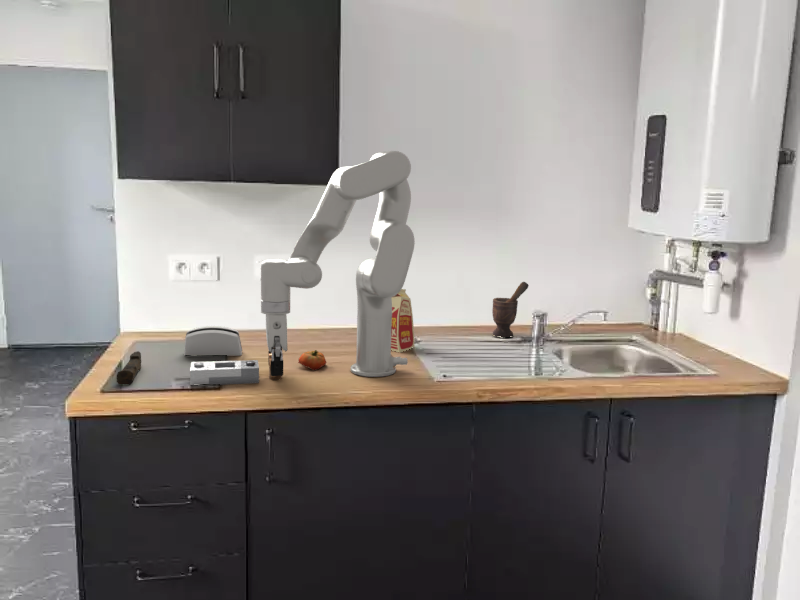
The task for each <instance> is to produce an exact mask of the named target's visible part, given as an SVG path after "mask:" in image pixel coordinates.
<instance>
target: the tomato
mask: <svg viewBox="0 0 800 600" xmlns="http://www.w3.org/2000/svg"><path fill="white" fill-rule="evenodd" d="M327 363H328V362H327V360H326V357H325V355H324V353H322V352H320V351H318V350H317V349H313V350H311V351H305V352H303V353H302V354H301V355H300V357H299V358H298V362H297V364H300V365H301V366H303V367H305V368H309V369H310V370H312V371H316V370H319V369H321V368H322V367H324V366H326V364H327Z"/></svg>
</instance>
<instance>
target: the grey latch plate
mask: <svg viewBox="0 0 800 600" xmlns="http://www.w3.org/2000/svg"><path fill="white" fill-rule="evenodd" d="M189 376H190V377H189V378H190V379H189V380H190V381H189V383H190V384H189V385H194V384H220V385H219V386H221V385H222V386H223V385H241V384H245V385H247V384H259V383H260V366H259V360H258V359H251V360H249V359H248V360H247V359H246V360H221V361H220V360H219V361H217V360H216V361H191V363H190V368H189Z"/></svg>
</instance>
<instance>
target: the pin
mask: <svg viewBox="0 0 800 600" xmlns="http://www.w3.org/2000/svg"><path fill="white" fill-rule="evenodd" d="M267 355H268V356H269V364H268V367H269V368H268V370H269V373H268V375H269V376H268V378H269V380H271V381H272V380H273V381H280V380H282V379H283V375H282V376H271V360H272V355H271V353H269V354H267ZM282 355H283V356H284V353H283V352H282ZM279 379H280V380H279Z"/></svg>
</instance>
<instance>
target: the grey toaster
mask: <svg viewBox="0 0 800 600" xmlns="http://www.w3.org/2000/svg"><path fill="white" fill-rule="evenodd" d="M184 340H185V341H184V349H183V356H184V355H227V357H229V356H237V357H239V356H240V357H241V356H242V355H243V346H242V341H241V337H240V332H239V331H238V329H235V328H232V327H227V326H222V325H206V326H200V327H196V328H192V329H189V330H187V332H186V333H185V339H184Z"/></svg>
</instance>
